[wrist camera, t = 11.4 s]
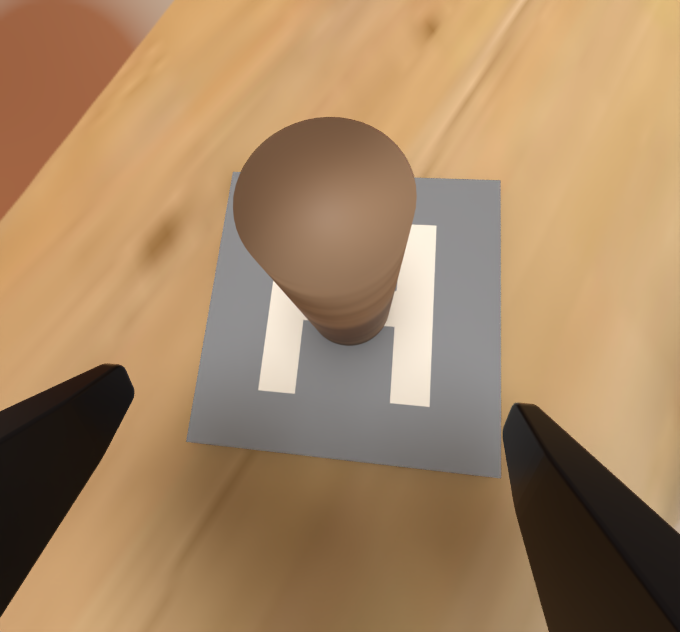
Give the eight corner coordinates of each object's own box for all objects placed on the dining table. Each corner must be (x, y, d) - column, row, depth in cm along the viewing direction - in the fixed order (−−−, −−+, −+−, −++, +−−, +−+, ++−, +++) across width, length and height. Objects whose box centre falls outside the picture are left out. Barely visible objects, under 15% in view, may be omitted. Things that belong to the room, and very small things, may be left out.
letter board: (496, 475, 17) (501, 478, 16) (192, 439, 19) (185, 441, 18) (496, 186, 20) (500, 180, 20) (236, 177, 22) (232, 171, 21)
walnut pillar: (406, 307, 19) (457, 196, 8) (346, 362, 18) (314, 325, 8) (351, 252, 20) (330, 86, 9) (293, 304, 19) (197, 196, 8)
